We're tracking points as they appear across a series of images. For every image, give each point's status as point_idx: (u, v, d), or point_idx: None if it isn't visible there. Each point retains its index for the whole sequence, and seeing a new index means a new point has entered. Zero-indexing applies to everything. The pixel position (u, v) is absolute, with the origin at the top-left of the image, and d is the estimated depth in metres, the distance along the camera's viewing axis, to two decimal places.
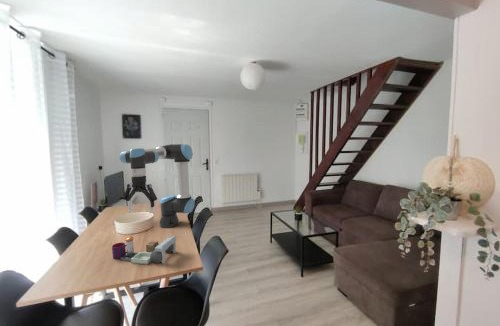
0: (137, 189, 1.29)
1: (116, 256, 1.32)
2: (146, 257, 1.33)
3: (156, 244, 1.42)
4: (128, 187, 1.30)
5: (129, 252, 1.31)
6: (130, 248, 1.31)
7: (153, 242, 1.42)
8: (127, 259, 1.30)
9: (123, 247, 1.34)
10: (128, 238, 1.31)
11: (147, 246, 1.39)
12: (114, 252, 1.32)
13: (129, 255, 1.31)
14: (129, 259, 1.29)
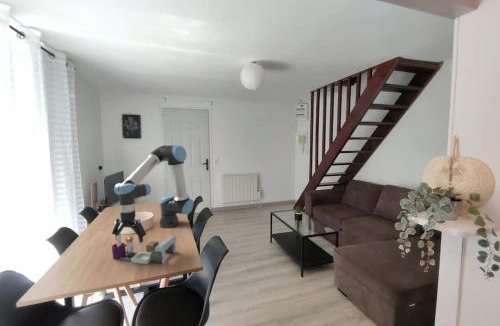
0: (126, 224, 1.30)
1: (116, 256, 1.32)
2: (146, 257, 1.33)
3: (156, 244, 1.42)
4: (117, 222, 1.31)
5: (129, 252, 1.31)
6: (130, 248, 1.31)
7: (153, 242, 1.42)
8: (127, 259, 1.30)
9: (123, 247, 1.34)
10: (128, 238, 1.31)
11: (147, 246, 1.39)
12: (114, 252, 1.32)
13: (129, 255, 1.31)
14: (129, 259, 1.29)
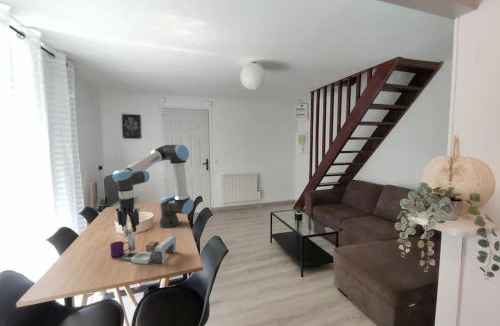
0: (125, 211, 1.30)
1: (114, 253, 1.33)
2: (146, 257, 1.33)
3: (156, 244, 1.42)
4: (118, 211, 1.30)
5: (130, 244, 1.32)
6: (131, 240, 1.32)
7: (153, 242, 1.42)
8: (127, 259, 1.30)
9: (121, 245, 1.36)
10: (129, 230, 1.32)
11: (147, 246, 1.39)
12: (112, 249, 1.33)
13: (130, 247, 1.32)
14: (129, 259, 1.29)
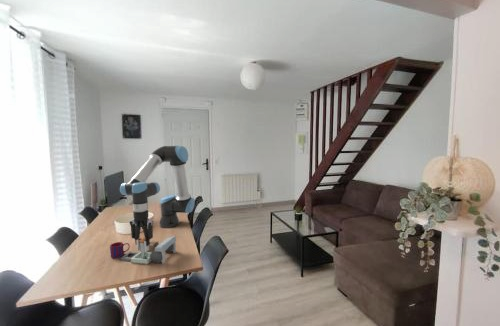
0: (139, 224, 1.27)
1: (115, 255, 1.33)
2: None
3: (156, 244, 1.42)
4: (131, 224, 1.28)
5: (143, 253, 1.28)
6: (144, 249, 1.28)
7: (153, 242, 1.42)
8: (127, 259, 1.30)
9: (121, 246, 1.35)
10: (141, 239, 1.29)
11: None
12: (112, 252, 1.33)
13: (143, 256, 1.28)
14: (129, 259, 1.29)
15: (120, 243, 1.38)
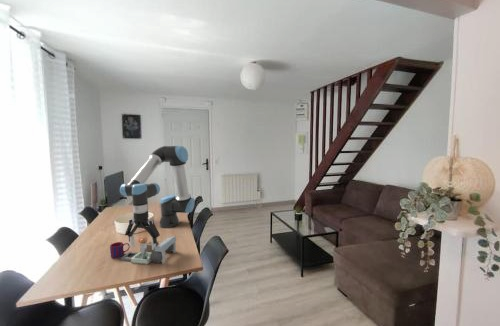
0: (139, 225, 1.27)
1: (115, 255, 1.33)
2: None
3: (156, 244, 1.42)
4: (130, 223, 1.28)
5: (143, 254, 1.28)
6: (144, 249, 1.28)
7: None
8: (127, 259, 1.30)
9: (121, 246, 1.35)
10: (142, 239, 1.28)
11: (147, 246, 1.39)
12: (112, 251, 1.33)
13: (143, 257, 1.28)
14: (129, 259, 1.29)
15: (120, 243, 1.38)
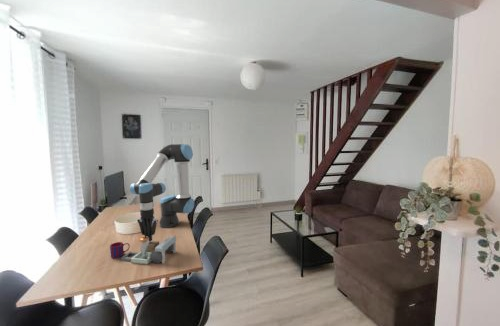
0: (145, 221, 1.39)
1: (115, 255, 1.33)
2: None
3: (157, 244, 1.42)
4: (139, 222, 1.40)
5: (144, 253, 1.29)
6: (145, 249, 1.29)
7: (154, 242, 1.42)
8: (127, 259, 1.30)
9: (121, 246, 1.35)
10: (143, 238, 1.29)
11: (148, 246, 1.38)
12: (112, 251, 1.33)
13: (143, 256, 1.29)
14: (129, 259, 1.29)
15: (120, 243, 1.38)
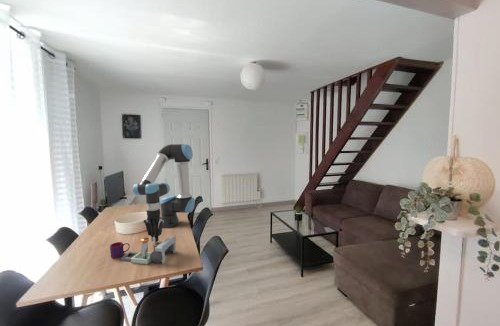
0: (152, 222, 1.38)
1: (115, 255, 1.33)
2: None
3: None
4: (145, 222, 1.39)
5: (144, 254, 1.28)
6: (145, 249, 1.28)
7: (160, 242, 1.41)
8: (127, 259, 1.30)
9: (121, 246, 1.35)
10: (143, 239, 1.28)
11: (154, 246, 1.38)
12: (112, 251, 1.33)
13: (144, 257, 1.28)
14: (129, 259, 1.29)
15: (120, 243, 1.38)
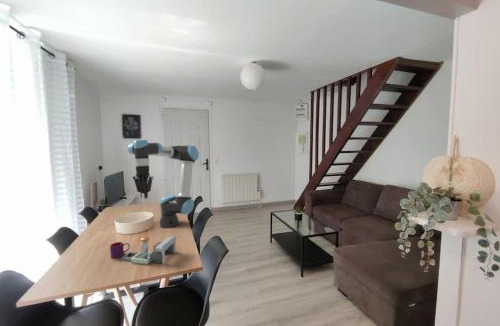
0: (141, 178, 1.39)
1: (115, 255, 1.33)
2: None
3: None
4: (135, 179, 1.40)
5: (145, 253, 1.29)
6: (146, 248, 1.29)
7: (160, 243, 1.41)
8: (127, 259, 1.30)
9: (121, 246, 1.35)
10: (144, 238, 1.29)
11: (154, 247, 1.38)
12: (112, 251, 1.33)
13: (145, 256, 1.29)
14: (129, 259, 1.29)
15: (120, 243, 1.38)
